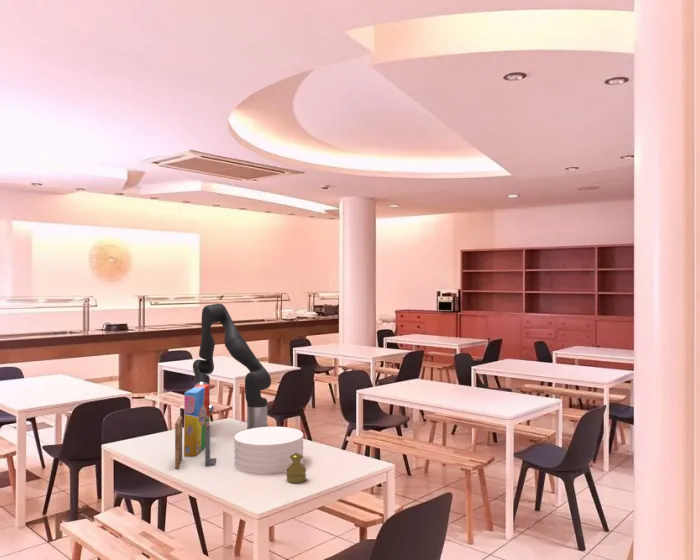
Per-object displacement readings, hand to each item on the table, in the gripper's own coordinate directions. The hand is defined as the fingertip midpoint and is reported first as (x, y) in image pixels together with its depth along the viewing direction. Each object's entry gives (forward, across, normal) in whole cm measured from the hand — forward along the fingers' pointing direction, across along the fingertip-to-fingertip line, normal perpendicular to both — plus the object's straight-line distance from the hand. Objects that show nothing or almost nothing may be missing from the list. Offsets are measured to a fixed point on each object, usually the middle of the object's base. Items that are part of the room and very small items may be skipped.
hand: (199, 424), depth 262 cm
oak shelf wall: (+30, -6, -20) cm, 36 cm away
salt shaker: (+50, +40, -39) cm, 75 cm away
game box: (+16, 0, -5) cm, 17 cm away
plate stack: (+34, +31, -23) cm, 51 cm away
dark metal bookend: (+30, +7, -20) cm, 37 cm away
